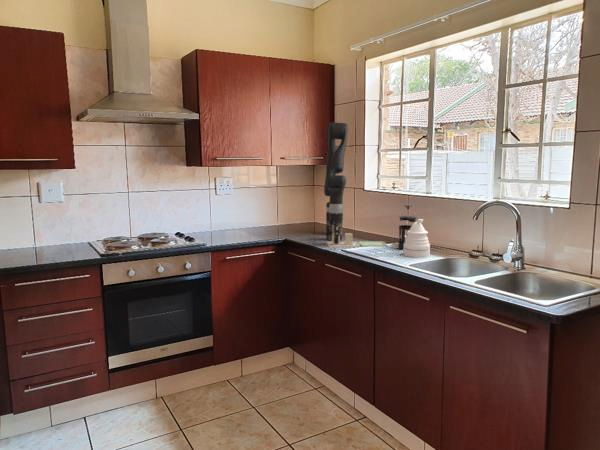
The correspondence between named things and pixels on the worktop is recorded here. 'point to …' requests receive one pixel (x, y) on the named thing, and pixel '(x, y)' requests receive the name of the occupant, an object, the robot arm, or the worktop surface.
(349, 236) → the beige block
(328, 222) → the canister
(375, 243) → the bin
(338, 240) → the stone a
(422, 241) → the honey pot
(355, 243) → the bin
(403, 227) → the french press
